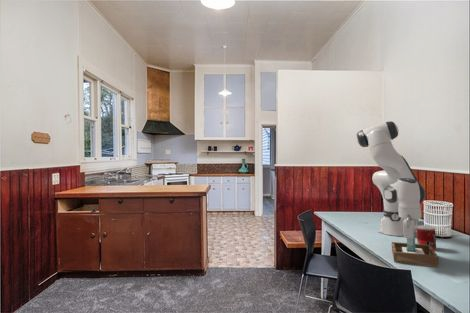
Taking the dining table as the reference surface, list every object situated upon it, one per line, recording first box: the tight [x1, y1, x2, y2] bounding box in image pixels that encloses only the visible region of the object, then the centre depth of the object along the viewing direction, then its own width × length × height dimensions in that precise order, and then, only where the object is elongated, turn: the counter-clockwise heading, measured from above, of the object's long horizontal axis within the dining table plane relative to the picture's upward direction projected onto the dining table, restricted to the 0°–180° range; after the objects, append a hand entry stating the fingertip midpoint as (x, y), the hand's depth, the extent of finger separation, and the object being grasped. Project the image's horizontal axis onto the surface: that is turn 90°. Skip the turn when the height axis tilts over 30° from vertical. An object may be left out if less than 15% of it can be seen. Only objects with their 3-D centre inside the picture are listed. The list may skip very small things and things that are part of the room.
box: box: [391, 241, 439, 268], centre depth 123 cm, size 16×16×5 cm
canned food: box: [416, 224, 437, 251], centre depth 136 cm, size 8×8×11 cm
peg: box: [406, 227, 416, 252], centre depth 123 cm, size 3×3×12 cm
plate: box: [402, 247, 424, 254], centre depth 123 cm, size 8×8×4 cm
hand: (411, 243), depth 123 cm, fingers closed on peg, 3 cm apart
